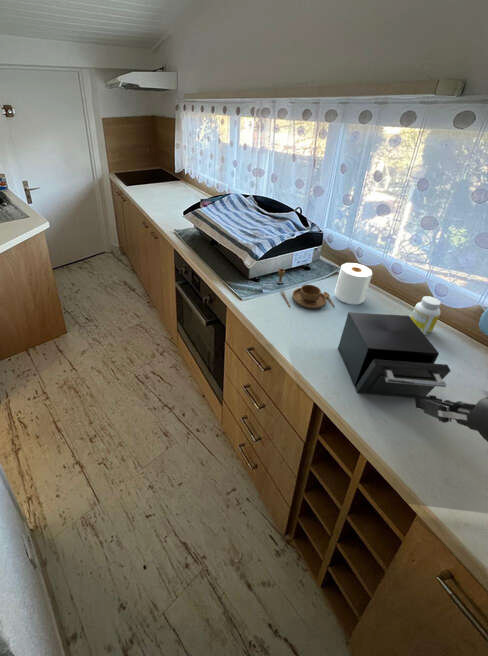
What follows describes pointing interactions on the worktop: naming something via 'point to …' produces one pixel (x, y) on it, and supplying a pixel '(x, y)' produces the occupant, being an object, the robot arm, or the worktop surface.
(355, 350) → the oven
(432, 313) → the pill bottle
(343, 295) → the toilet paper
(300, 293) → the place setting
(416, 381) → the oven door
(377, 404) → the worktop surface
